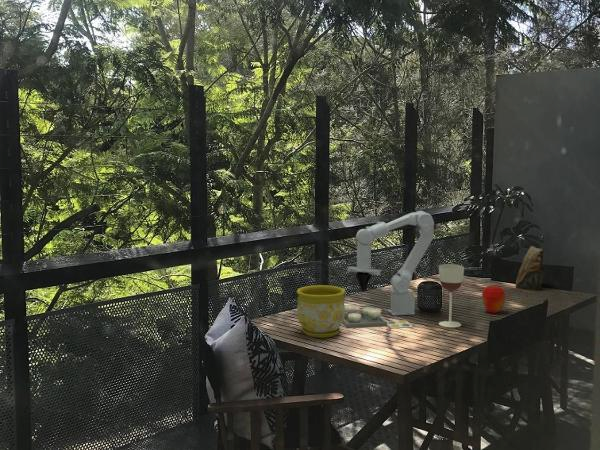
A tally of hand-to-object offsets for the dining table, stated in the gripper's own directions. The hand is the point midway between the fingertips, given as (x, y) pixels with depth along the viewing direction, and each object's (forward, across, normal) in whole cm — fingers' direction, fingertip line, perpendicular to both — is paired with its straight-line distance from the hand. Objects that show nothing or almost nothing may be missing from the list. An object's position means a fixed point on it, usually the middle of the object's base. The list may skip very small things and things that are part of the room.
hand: (363, 290), depth 265 cm
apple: (+10, +44, +32) cm, 55 cm away
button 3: (+9, +6, -6) cm, 12 cm away
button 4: (+8, +11, -11) cm, 18 cm away
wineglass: (+10, +36, +5) cm, 38 cm away
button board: (+10, +6, -11) cm, 16 cm away
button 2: (+9, +6, -17) cm, 20 cm away
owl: (+10, +42, +88) cm, 98 cm away
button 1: (+8, 0, -11) cm, 14 cm away
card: (+10, +20, -7) cm, 23 cm away
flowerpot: (+10, +1, -33) cm, 35 cm away
